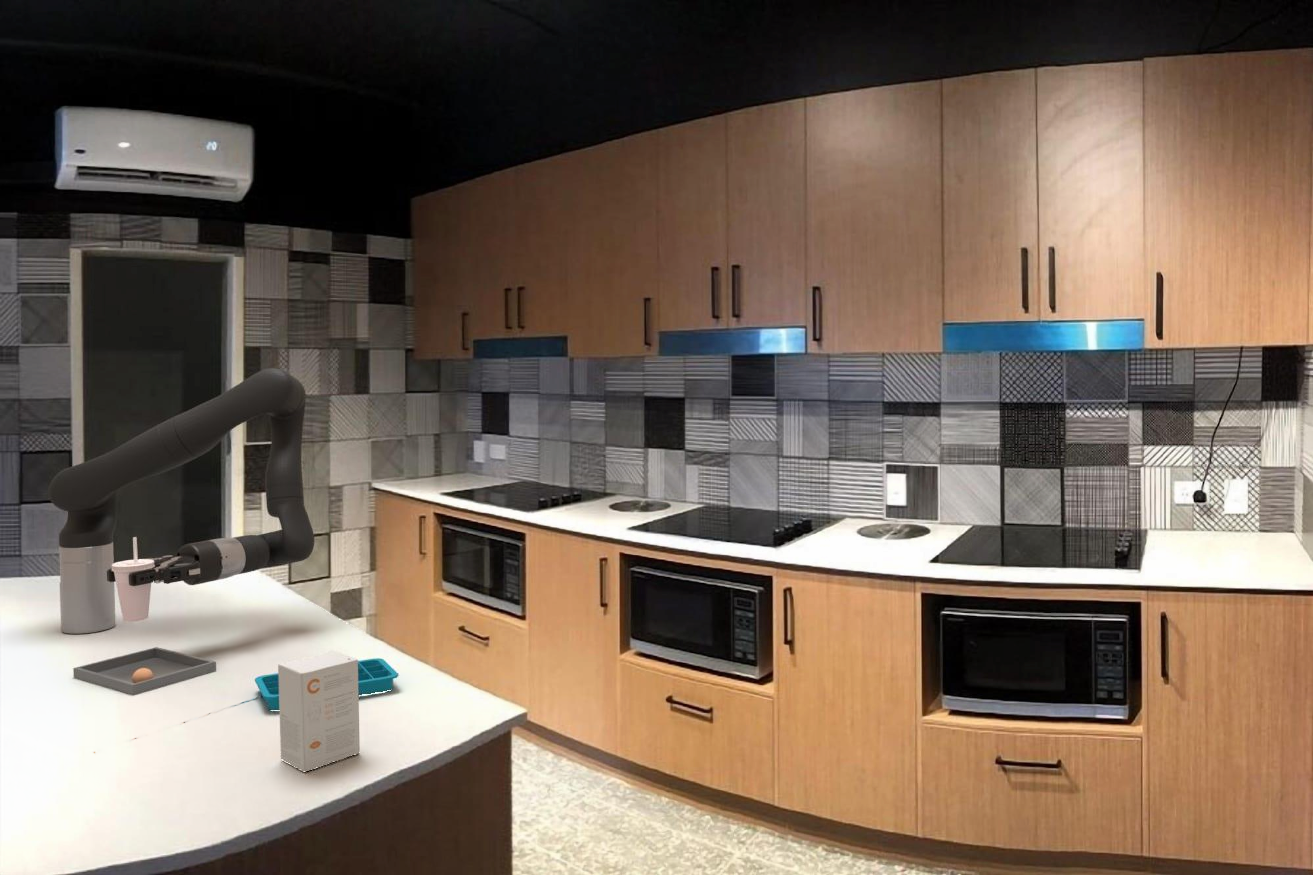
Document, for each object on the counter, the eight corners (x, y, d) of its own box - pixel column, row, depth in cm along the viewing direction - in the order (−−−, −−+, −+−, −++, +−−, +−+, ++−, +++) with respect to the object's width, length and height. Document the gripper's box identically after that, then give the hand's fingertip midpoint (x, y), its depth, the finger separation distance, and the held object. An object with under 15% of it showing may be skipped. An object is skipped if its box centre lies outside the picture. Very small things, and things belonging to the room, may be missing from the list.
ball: (128, 687, 145) (127, 669, 145) (146, 682, 148) (146, 664, 147) (139, 690, 143) (138, 672, 143) (157, 685, 146) (157, 667, 146)
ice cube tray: (254, 695, 144) (253, 676, 144) (381, 674, 154) (381, 657, 154) (265, 717, 134) (265, 698, 134) (400, 694, 145) (400, 675, 144)
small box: (335, 742, 124) (334, 649, 123) (360, 754, 120) (359, 658, 119) (278, 761, 118) (276, 663, 117) (303, 774, 114) (301, 673, 113)
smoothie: (137, 624, 149) (133, 541, 148) (104, 622, 151) (100, 540, 150) (165, 614, 156) (162, 534, 155) (133, 613, 157) (130, 533, 156)
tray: (73, 679, 150) (73, 667, 150) (156, 657, 162) (156, 647, 162) (133, 697, 142) (132, 685, 141) (216, 673, 154) (215, 661, 154)
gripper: (187, 537, 168) (93, 552, 154) (235, 543, 161) (143, 559, 147) (188, 576, 169) (95, 595, 154) (237, 584, 162) (144, 605, 147)
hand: (119, 577), depth 150 cm, fingers closed on smoothie, 6 cm apart
